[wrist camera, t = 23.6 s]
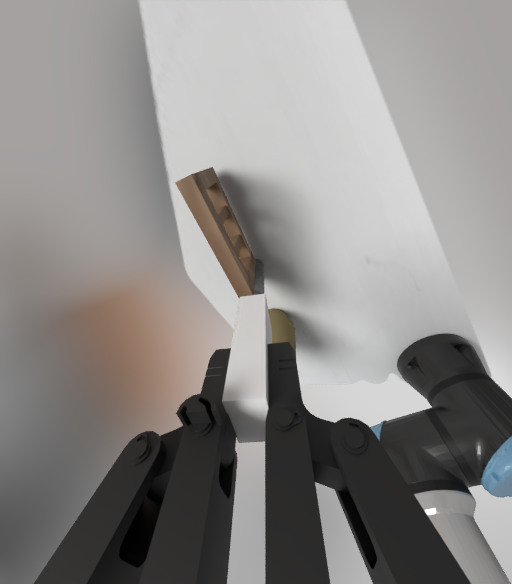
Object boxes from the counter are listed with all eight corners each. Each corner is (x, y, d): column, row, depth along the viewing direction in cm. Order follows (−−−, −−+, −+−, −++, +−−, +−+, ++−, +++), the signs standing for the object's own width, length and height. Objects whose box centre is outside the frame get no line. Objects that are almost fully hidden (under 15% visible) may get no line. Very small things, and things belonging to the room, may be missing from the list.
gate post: (267, 268, 41) (269, 321, 29) (253, 277, 42) (250, 331, 30) (257, 256, 40) (255, 305, 27) (244, 265, 41) (236, 316, 28)
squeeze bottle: (259, 299, 45) (258, 376, 30) (298, 308, 46) (316, 387, 31) (250, 329, 49) (244, 410, 34) (285, 337, 50) (296, 419, 35)
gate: (212, 167, 31) (191, 174, 22) (255, 260, 38) (253, 296, 29) (201, 172, 32) (175, 182, 22) (245, 264, 39) (240, 301, 29)
